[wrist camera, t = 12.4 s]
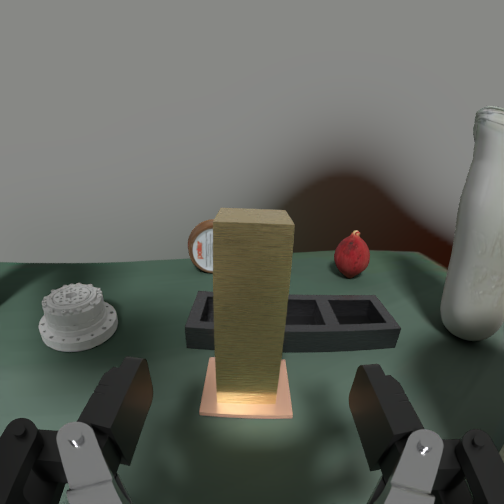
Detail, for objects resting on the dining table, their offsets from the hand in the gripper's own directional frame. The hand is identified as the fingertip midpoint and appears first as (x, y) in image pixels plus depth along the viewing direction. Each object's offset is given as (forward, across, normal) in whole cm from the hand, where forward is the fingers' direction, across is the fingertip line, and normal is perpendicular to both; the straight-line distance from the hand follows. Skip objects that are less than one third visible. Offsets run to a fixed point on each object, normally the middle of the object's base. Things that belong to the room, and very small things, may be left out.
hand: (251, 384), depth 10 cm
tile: (+10, 0, +10) cm, 14 cm away
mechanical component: (+16, +20, +10) cm, 28 cm away
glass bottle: (+16, -28, +10) cm, 34 cm away
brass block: (+10, 0, +10) cm, 14 cm away
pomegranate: (+35, -16, +10) cm, 40 cm away
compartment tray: (+19, -5, +10) cm, 22 cm away
